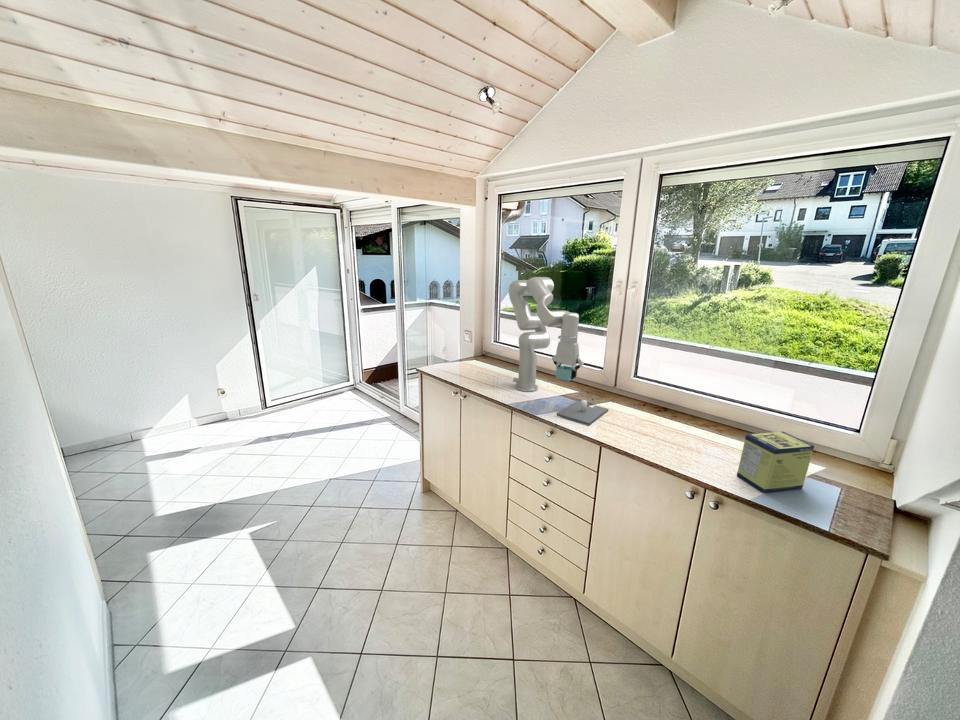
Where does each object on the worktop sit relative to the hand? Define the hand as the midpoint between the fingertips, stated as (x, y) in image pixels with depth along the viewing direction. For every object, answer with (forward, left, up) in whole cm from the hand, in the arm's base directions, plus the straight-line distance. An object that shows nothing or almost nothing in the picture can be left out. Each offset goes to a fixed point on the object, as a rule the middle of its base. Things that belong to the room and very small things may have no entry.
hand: (566, 376), depth 177 cm
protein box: (+81, -11, -17) cm, 83 cm away
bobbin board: (+10, +1, -16) cm, 19 cm away
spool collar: (0, 0, -1) cm, 1 cm away
